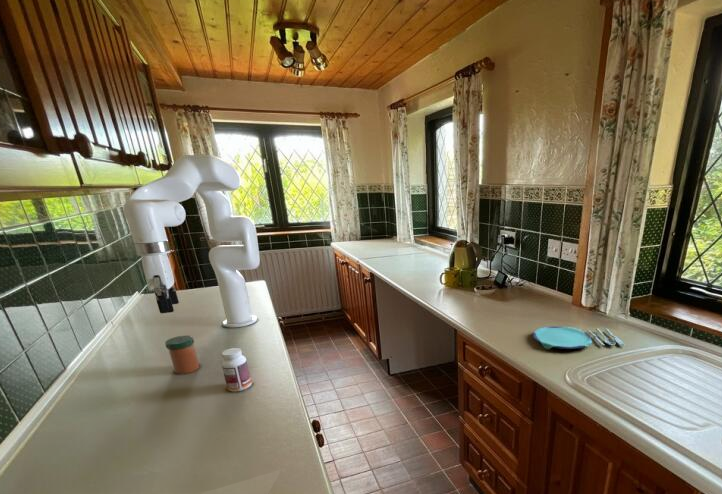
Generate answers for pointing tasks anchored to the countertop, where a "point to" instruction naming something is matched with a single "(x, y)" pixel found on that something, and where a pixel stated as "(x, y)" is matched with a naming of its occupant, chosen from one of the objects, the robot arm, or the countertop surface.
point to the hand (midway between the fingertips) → (170, 307)
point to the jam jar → (184, 360)
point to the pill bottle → (235, 370)
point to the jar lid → (179, 342)
